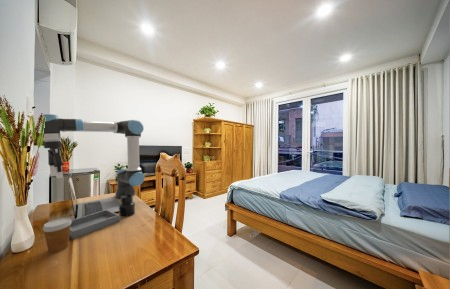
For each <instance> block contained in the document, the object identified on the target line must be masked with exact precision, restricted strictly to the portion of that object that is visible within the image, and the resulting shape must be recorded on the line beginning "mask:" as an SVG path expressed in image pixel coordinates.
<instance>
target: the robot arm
mask: <svg viewBox="0 0 450 289" xmlns="http://www.w3.org/2000/svg"><path fill="white" fill-rule="evenodd" d="M42 115H43V116H45V117H46V121H45V128H44V138H43V137H42V141H43V148H44V149H47V154H48V156H47V158H48V165H49V171H50V172H49V173H50V177H55V178H56V179H62V178H64V174H63V173H64V172H63V165H64V164H63V160H62V156H61V153H60V149H59V148H62V146H63V145H62V141H61V140H62V137H61V132H63V133H64V132H65V133H66V132H83V133H85V132H87V133H88V132H89V133H91V132H93V133H95V132H96V133H113V134H121V135H124V137H125V138H126V139H127V140H126V141H127V143H126V144H127V168H123V169H118V170H117V171H116V180H117V182H116V184H117V188H116V189H115V190H116V191H115V193H114V196H115V197H114V198H117V199H121V196H123V195H128V194H131V195H133V196H135V194H136V190H135V188H134V187H139V186H141V185H142V184H143V183H144V181H145V176H146V175H145V174H144V173H143V169H142V167H141V166H140V165H141V164H140V162H141V161H140V138H141V137H142V133H143V131H144V125H143V123H142V122H141V121H140V120H137V119H130V120H122V121H121V120H120V121H113V122H107V121H105V122H104V121H86V120H85V121H84V120H83V119H81V118H79V119H77V118H60V117H59V115H58V114H49V113H48V114H42Z"/></svg>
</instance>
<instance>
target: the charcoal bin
mask: <svg viewBox="0 0 450 289" xmlns="http://www.w3.org/2000/svg"><path fill="white" fill-rule="evenodd" d="M70 220H71V221H72V223H71V225H70V233H69V239H71V240H76V239H78V238H81V237H85V236H87V235H89V234H91V233H94V232H97V231H99V230H102V229H104V228H107V227H110V226H112V225H115V224H117V223H120V222H121V216H120V215H119V213H116V212H114V211H112V210H110V209H104V210H101V211H97V212H94V213H90V214H87V215H84V216H82V217H78V218H74V219H70Z"/></svg>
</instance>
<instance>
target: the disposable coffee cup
mask: <svg viewBox="0 0 450 289" xmlns="http://www.w3.org/2000/svg"><path fill="white" fill-rule="evenodd" d="M71 220H72V219H71V218H70V217H61V218H56V219H53V220H50V221H48V222H46V223H44V224H43V227H42V230H43V233H44V237H45V242H46V245H47V250H48V253H52V254H53V253H54V254H55V253H57V252H61V251H63V250H65V249H66V248H68V246H69V239H70V237H69V233H70V225H71V223H72V221H71Z"/></svg>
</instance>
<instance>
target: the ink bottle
mask: <svg viewBox="0 0 450 289" xmlns="http://www.w3.org/2000/svg"><path fill="white" fill-rule="evenodd" d="M133 197H134V195H131V194H128V195H123V196H121V198H120V204H119V205H118V214H119V215H120V217H122V218H123V217H130V216H132V215H134V214H135V212H136V209H135V208H136V207H135V202H134V201H133Z"/></svg>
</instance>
